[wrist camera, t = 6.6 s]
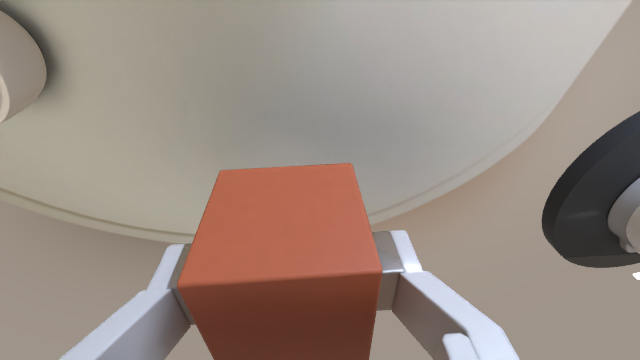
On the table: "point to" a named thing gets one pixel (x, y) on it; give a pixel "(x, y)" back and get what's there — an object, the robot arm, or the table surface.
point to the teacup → (18, 68)
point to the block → (284, 266)
